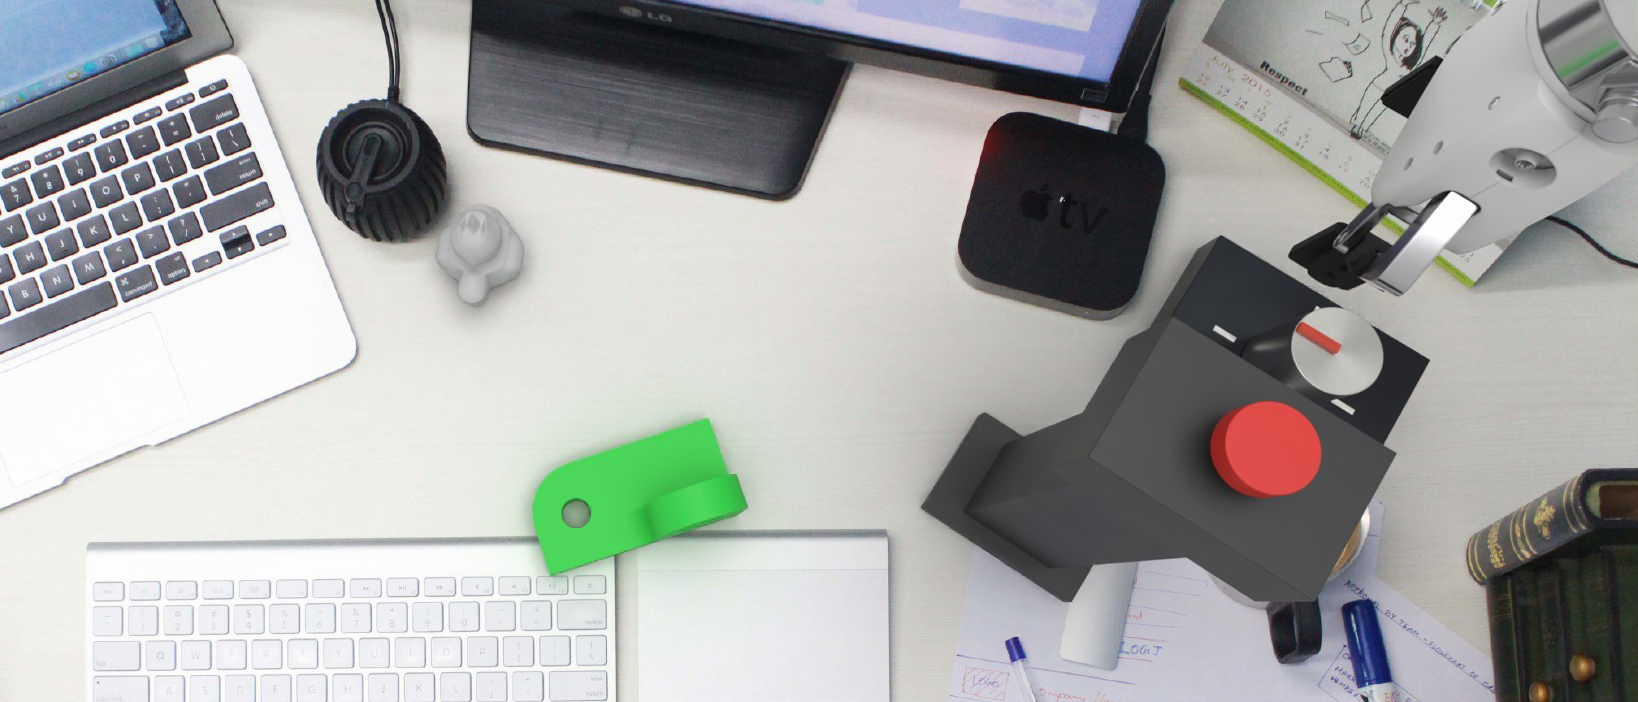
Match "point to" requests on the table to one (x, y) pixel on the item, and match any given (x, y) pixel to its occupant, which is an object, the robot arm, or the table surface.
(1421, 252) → the robot arm
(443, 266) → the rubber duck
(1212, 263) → the dial panel
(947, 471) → the button stand
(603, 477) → the mechanical part
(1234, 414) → the button
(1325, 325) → the dial
